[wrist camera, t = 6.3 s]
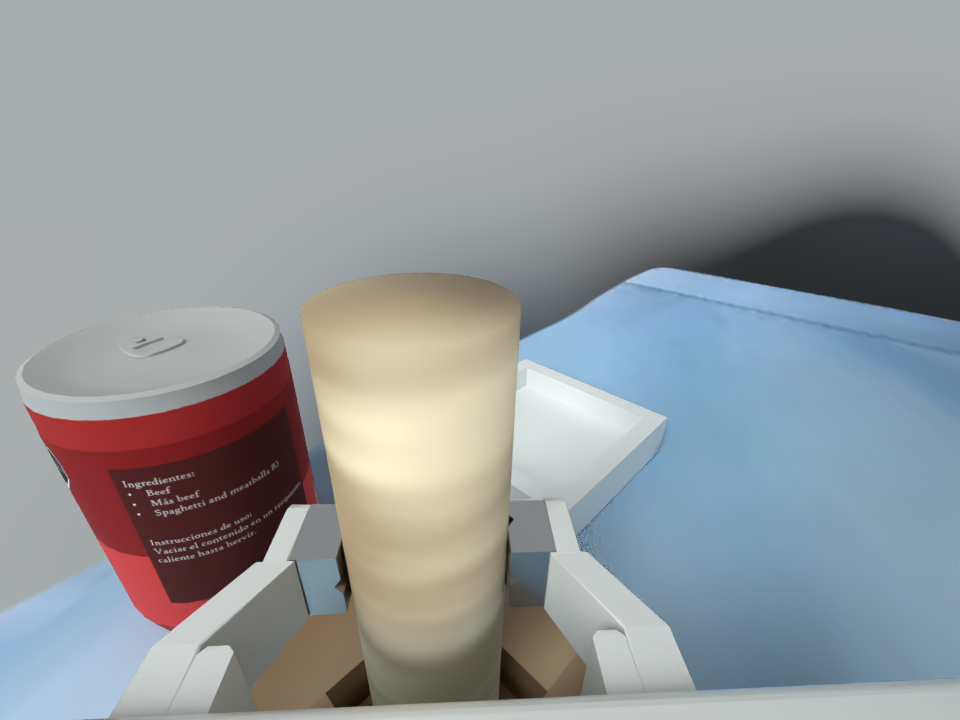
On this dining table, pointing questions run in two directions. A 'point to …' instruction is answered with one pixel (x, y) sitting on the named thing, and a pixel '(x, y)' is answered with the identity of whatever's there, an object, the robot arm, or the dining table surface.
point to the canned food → (174, 445)
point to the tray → (577, 441)
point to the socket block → (343, 678)
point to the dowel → (420, 471)
